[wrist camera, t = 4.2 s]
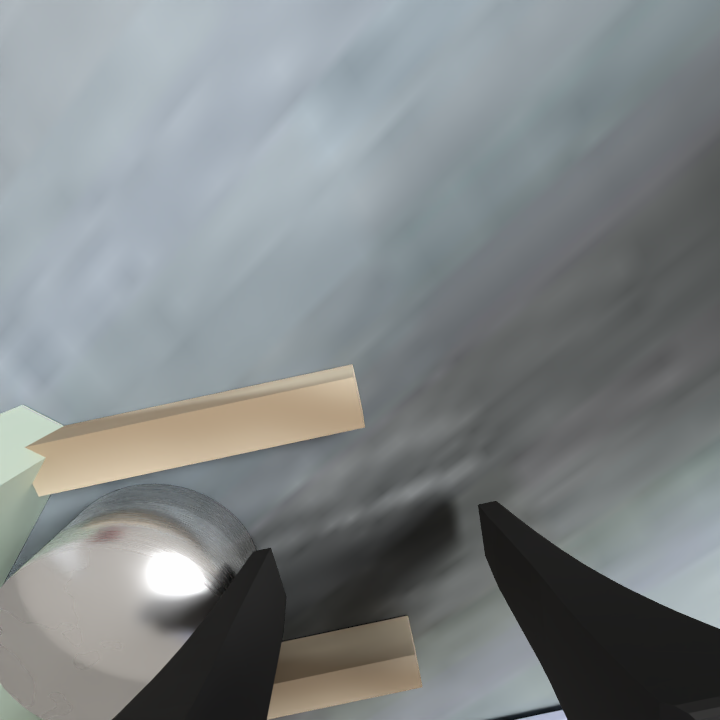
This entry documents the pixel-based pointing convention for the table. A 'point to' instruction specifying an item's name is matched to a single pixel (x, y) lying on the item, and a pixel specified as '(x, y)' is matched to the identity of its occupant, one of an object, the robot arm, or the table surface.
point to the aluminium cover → (115, 599)
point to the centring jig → (194, 445)
